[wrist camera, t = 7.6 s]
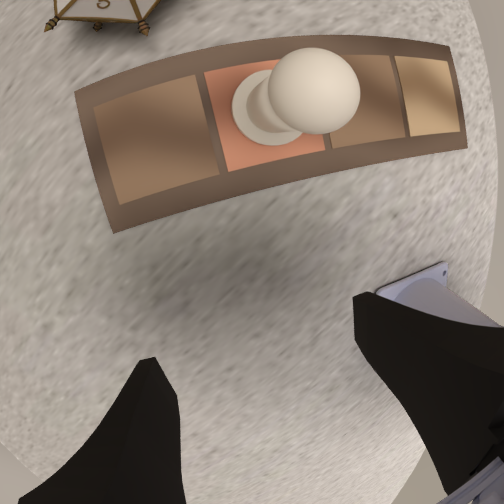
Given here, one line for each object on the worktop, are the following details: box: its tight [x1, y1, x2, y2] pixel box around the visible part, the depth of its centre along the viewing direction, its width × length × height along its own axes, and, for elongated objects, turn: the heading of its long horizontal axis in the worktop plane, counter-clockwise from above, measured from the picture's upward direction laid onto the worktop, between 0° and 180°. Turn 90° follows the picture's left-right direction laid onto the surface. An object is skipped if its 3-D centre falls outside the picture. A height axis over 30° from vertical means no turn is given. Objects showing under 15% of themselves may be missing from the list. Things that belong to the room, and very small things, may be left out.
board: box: [74, 35, 468, 234], centre depth 16 cm, size 9×28×1 cm, turn 103°
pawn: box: [231, 48, 360, 146], centre depth 12 cm, size 4×4×8 cm
